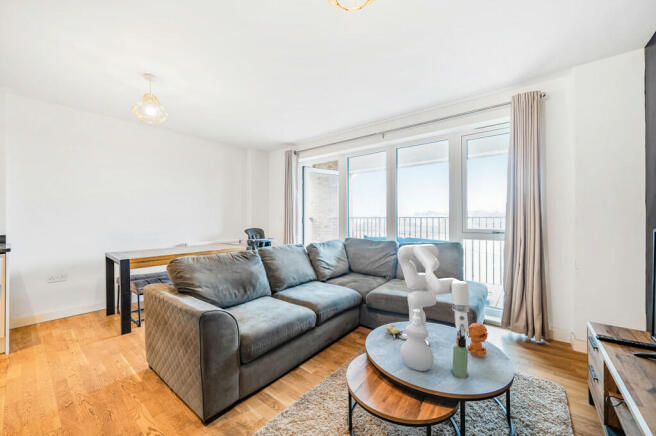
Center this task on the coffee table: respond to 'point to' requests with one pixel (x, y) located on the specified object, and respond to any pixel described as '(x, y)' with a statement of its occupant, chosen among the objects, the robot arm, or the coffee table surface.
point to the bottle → (460, 361)
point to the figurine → (394, 331)
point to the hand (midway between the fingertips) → (461, 344)
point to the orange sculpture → (477, 339)
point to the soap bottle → (416, 346)
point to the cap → (457, 339)
